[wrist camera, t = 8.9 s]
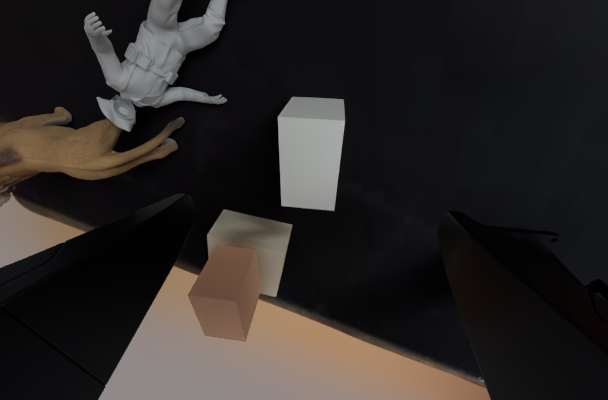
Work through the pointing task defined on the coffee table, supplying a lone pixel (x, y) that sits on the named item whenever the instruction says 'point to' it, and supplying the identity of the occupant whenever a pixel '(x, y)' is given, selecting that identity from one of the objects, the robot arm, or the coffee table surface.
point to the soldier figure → (153, 59)
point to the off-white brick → (310, 151)
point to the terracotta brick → (227, 292)
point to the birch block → (254, 243)
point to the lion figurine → (70, 149)
